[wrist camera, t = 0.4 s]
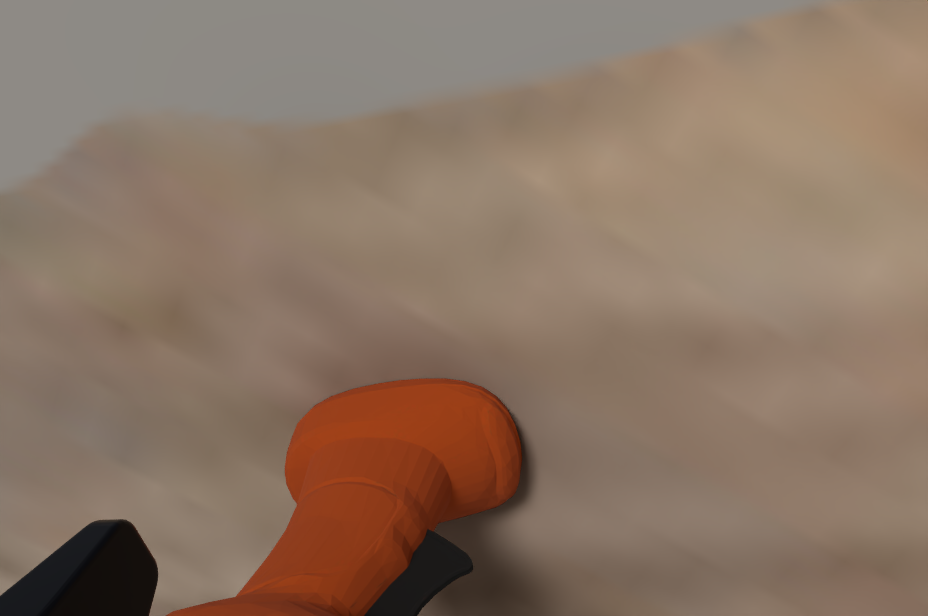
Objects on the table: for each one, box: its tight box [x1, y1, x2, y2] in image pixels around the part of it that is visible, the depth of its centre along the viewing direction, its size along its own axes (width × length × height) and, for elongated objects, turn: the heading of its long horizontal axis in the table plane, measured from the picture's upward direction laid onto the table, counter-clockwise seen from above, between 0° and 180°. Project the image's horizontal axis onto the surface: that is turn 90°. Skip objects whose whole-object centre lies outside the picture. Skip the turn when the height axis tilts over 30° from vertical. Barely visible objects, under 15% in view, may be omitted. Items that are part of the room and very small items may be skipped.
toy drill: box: [166, 379, 522, 616], centre depth 19 cm, size 5×19×15 cm, turn 101°
